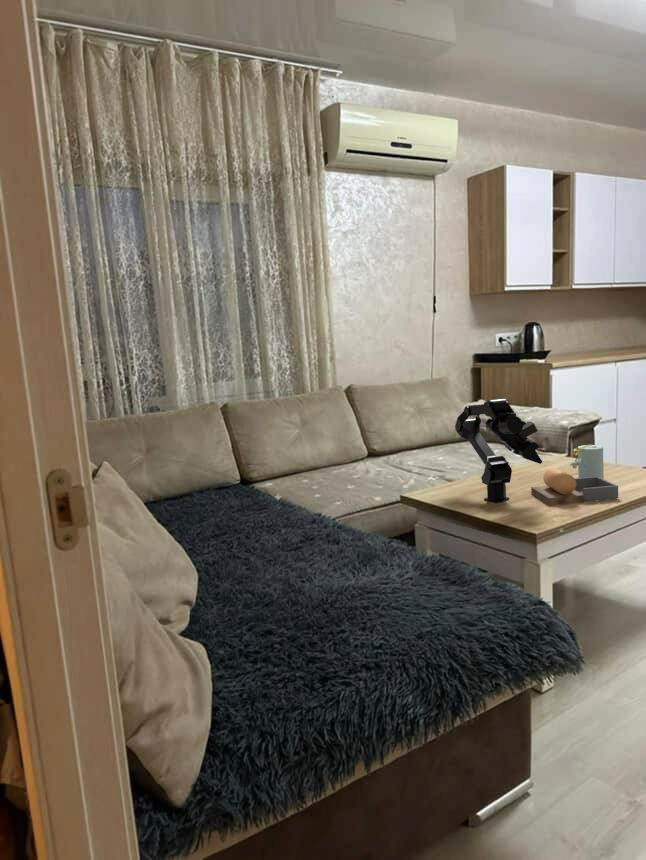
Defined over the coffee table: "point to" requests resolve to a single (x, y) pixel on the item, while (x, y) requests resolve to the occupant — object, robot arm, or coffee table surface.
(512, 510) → the coffee table surface
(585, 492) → the tray
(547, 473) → the roller
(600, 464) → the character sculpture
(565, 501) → the board
